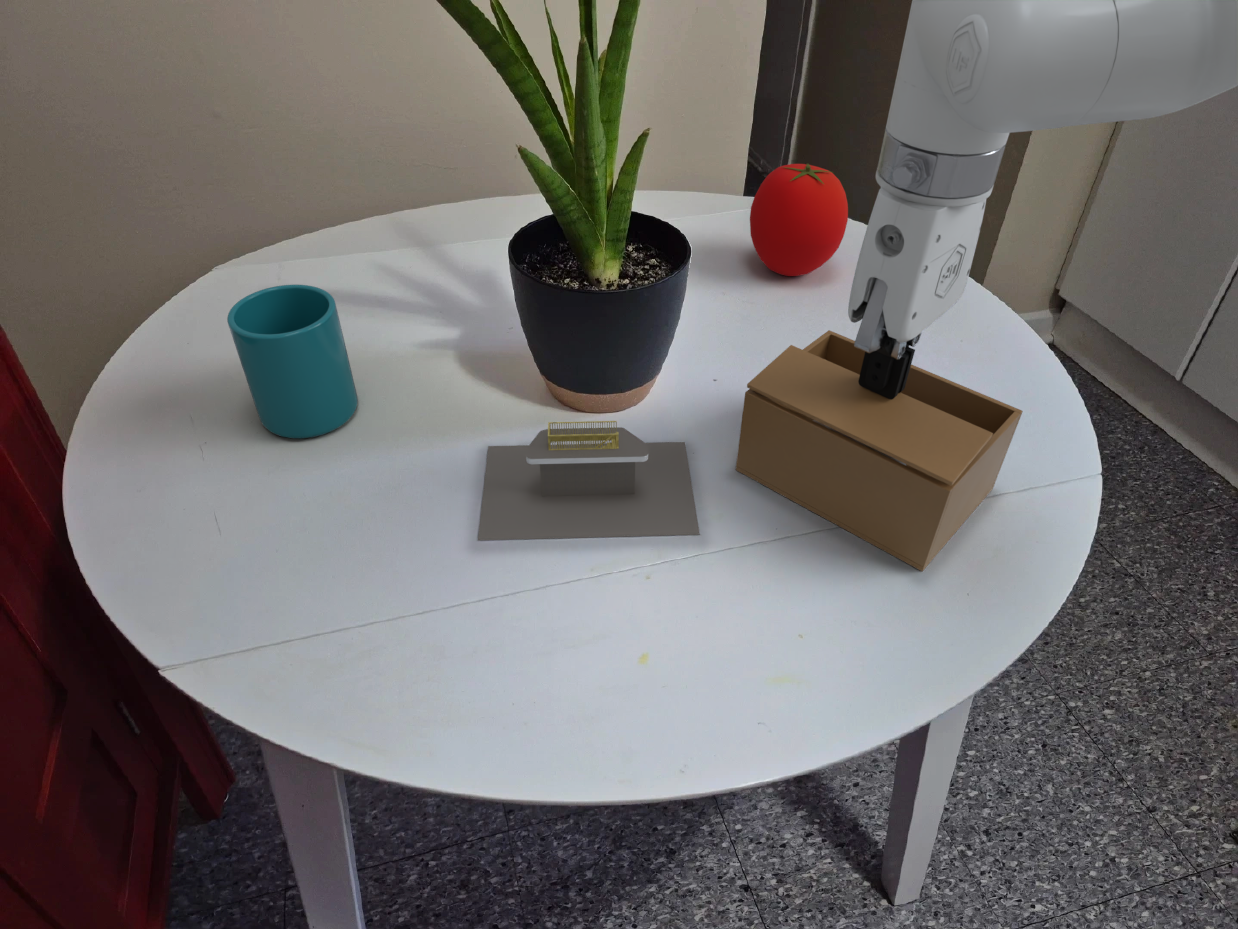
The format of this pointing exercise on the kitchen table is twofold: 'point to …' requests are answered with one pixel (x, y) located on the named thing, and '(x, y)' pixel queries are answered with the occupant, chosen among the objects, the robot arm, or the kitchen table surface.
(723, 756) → the kitchen table surface
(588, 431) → the platform
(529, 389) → the kitchen table surface
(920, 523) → the carton
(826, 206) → the tomato
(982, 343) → the kitchen table surface
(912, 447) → the flap
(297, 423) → the cup
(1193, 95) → the robot arm
